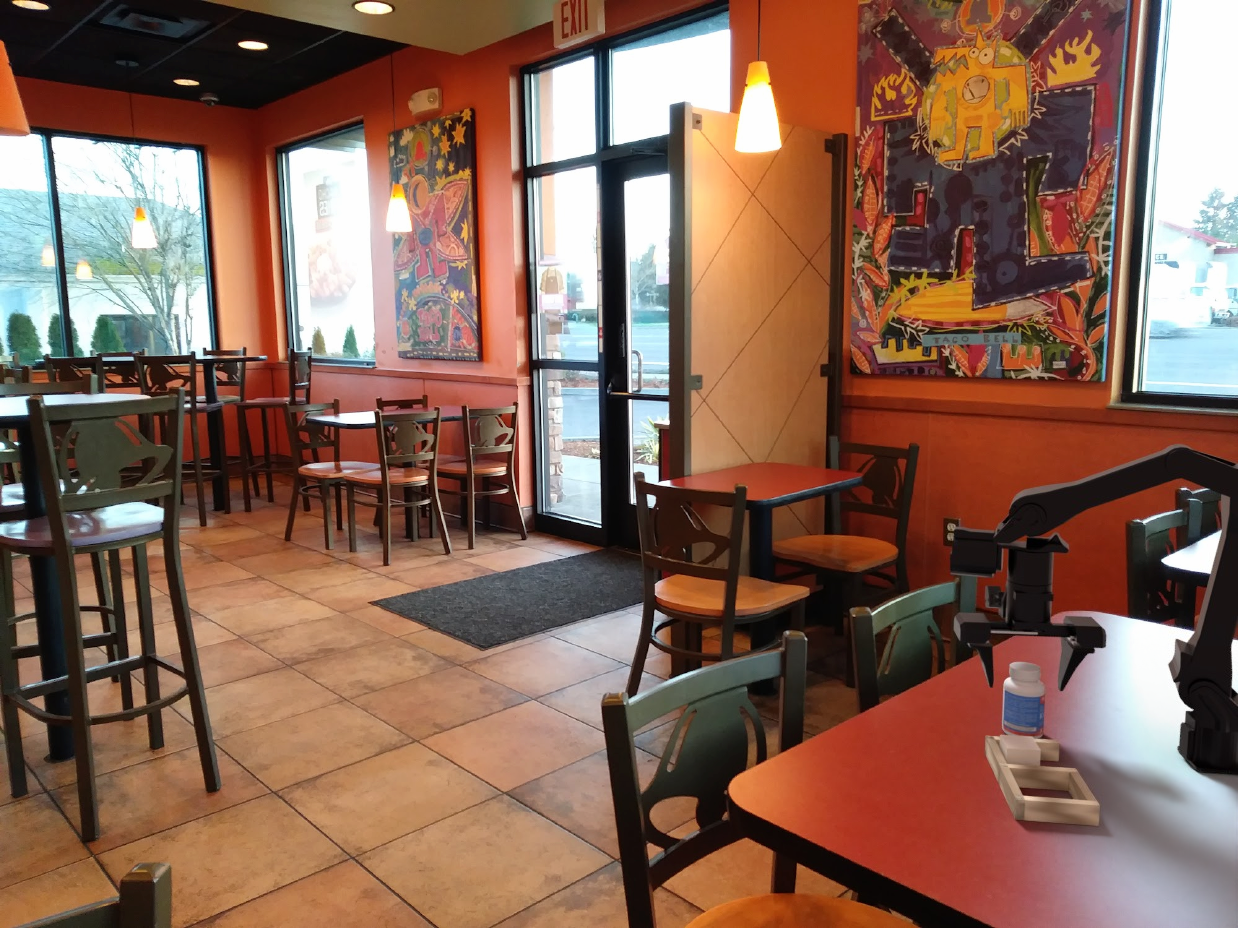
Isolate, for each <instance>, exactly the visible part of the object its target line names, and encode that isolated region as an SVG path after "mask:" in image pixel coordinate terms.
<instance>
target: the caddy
mask: <svg viewBox="0 0 1238 928" xmlns="http://www.w3.org/2000/svg"><path fill="white" fill-rule="evenodd" d="M984 739H985V740H984V741H985V744H984V755H985V756H986V759H987V762H988V763H989V766H990V767H991V770H992V772H993V773H994V777H995V779H996V781H997V783H998V785H999V787H1000V789H1001V792H1002V794H1003V796H1004V798H1005V800H1006V803H1007V805H1008V807H1009V809H1010V811H1011V814H1012V815H1013V818H1014V820H1017V821H1028V822H1029V821H1030V822H1041V823H1054V824H1068V825H1069V824H1070V825H1082V826H1094V827H1095V826H1096V827H1100V811H1101V810H1100V809H1101V805H1100V804H1099V802H1098V800H1097V799H1096V797H1095V796H1094V794H1093V793H1092V791H1091V790H1090V788H1089V787H1088V785H1087V783H1086V782H1085V780H1084V779H1083V777H1082V776H1081V775H1080V772H1079V771H1078V770H1077V768H1074V767H1061V766H1060V767H1058V766H1044V765H1040V766H1031V765H1015V764H1007V763H1006V761H1005V759H1004V757H1003V755H1002V753H1001V751H1000V749H999V748H1000V736H996V735H995V736H993V735H985V738H984ZM1034 740H1035V742H1036V743H1037V745H1038V747H1039V748H1040V750H1041V755H1040V761H1048V762H1059V761H1060V760H1059V759H1060V742H1059V740H1058V739H1045V738H1038V739H1034ZM1020 788H1022V789H1023V788H1024V789H1025V788H1026V789H1035V790H1036V789H1037V790H1038V789H1039V790H1053V791H1067V792H1069V794H1070V795H1071V797H1072V798H1057V797H1046V796H1045V797H1044V796H1029V795H1023V793H1022V791H1021V789H1020Z"/></svg>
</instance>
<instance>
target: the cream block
mask: <svg viewBox="0 0 1238 928" xmlns="http://www.w3.org/2000/svg"><path fill="white" fill-rule="evenodd" d="M999 737H1000V748H999V749H1000V751H1001V753H1002V755H1003V757H1004V759H1005V761H1006V763H1007V764H1015V765H1031V766H1041V760H1040V755H1041V750H1040V748H1039V747H1038V745H1037V743H1036V742H1035V740H1034V738H1033V737H1032V736H1015V735H1008V734H999Z"/></svg>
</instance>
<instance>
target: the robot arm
mask: <svg viewBox="0 0 1238 928" xmlns="http://www.w3.org/2000/svg"><path fill="white" fill-rule="evenodd" d="M1179 479H1182V480H1184V481H1188V482H1190V483H1193V484H1195V485H1197V486H1200V487H1202V488H1204V489H1207V490H1209V491H1212V492H1214V493H1217V494H1219V495H1221V497H1220V512H1221V514H1220V515H1221V533H1220V537H1219V541H1218V544H1217V547H1216V551H1215V555H1214V559H1213V563H1212V567H1211V570H1210V575H1209V579H1208V582H1207V585H1206V586H1207V587H1206V589H1205V592H1204V597H1203V601H1202V605H1201V609H1200V612H1199V616H1198V620H1197V624H1196V628H1195V630H1194V632H1193V634H1192V635H1191V637H1190V638H1189V639H1188V641H1187V642H1186V641H1184V640H1182V639H1180V638H1179V639H1178V638H1175V641H1174V653H1173V657H1172V659H1171V660H1170V661H1169V662H1168V664H1167V666H1168V669H1169V671H1170V672H1169V673H1170V675H1171V679H1172V681H1173V683H1174V684H1175V687H1176V690H1177V693H1178V694H1177V695H1178V697H1179V698H1180V700H1181V702H1182V703H1183V704H1184V705H1185V706H1186V707H1188V708H1190V709H1191V710H1185V714H1184V715H1185V716H1184V717H1185V718H1184V722H1181V723H1180V727H1179V728H1180V729H1179V743H1178V746H1176V747H1177V748H1176V749H1177V751H1178V752H1179V754H1181V756H1182V757H1183V758H1184V759H1185V760H1186V761H1187V762H1188V763H1189V764H1190V766H1191V767H1192V768H1193V769H1194V770H1196V771H1198V772H1204V773H1205V772H1206V773H1219V774H1235V775H1238V691H1236V690H1235V689H1234V688H1233V657H1232V655H1233V654H1232V646H1233V641H1234V637H1235V634H1236V631H1237V627H1238V463H1237V462H1233V461H1231V460H1228V459H1224V458H1222V457H1219V456H1215V455H1212V454H1209V453H1205V452H1202V451H1198V450H1196V449H1193V448H1191V447H1190V446H1188V445H1187V444H1186V445H1185V444H1182V443H1176V444H1171V445H1169V446H1167V447H1166V448H1164V449H1162V450H1160V451H1156V452H1154V453H1152V454H1148V455H1146V456H1143V457H1140V458H1137V459H1134V460H1131V461H1129V462H1126V463H1123V464H1119V465H1117V466H1115V467H1112V468H1109V469H1106V470H1103V471H1100V472H1098V473H1094V474H1092V475H1089V476H1087V477H1084V478H1083V477H1082V478H1081V479H1078V480H1074V481H1068V482H1063V483H1053V484H1052V483H1051V484H1047V485H1040V486H1036V487H1035V486H1034V487H1031V488H1026V489H1023V490H1021V491H1019V492H1017V493H1016V495H1014V497H1013V498H1012V500H1011V503H1010V506H1009V509H1008V510H1009V511H1008V514H1007V516H1005V518H1004V519H1003V520H1002V521H1001V522H999V523H998V525H997V527H996V529H995V530H992V529H991V530H990V529H977V528H968V527H967V526H966V527H965V526H955V527H954V529H953V537H952V546H951V547H952V548H951V551H950V553H949V571H950V575H957V576H965V577H966V576H968V577H969V576H970V577H980V578H988V579H989V578H990V579H992V578H993V579H994V575H997V572H1003V567H1004V566H1003V563H1004V550H1007V569H1006V570H1007V572H1006V575H1007V576H1006V582H1005V585H1004V586H1005V589H1004V591H1002V587H1001V586H1000V585H985V586H984V587H985V590H984V605H985V608H987V609H998V615H999V616H1000V617H1001V618H1002V619H1005V620H1004V621H1002V620H1000V621H999V620H989V619H988V618H987V617H986V614H984V612H958V613H957V614H956V615H954V619H953V631H954V633H955V635H956V636H957V639H958V640H959V642H960V643H963V644H967V645H968V647H969V648H970V649H972V650H976V651H977V654H978V656H979V659H980V662H981V666H982V669H983V672H984V675H985V678H986V681H987V684H988V687H989V688H990V689H993V688H994V682H995V673H994V671H995V670H994V651H993V650H994V647H993V645H992V643H991V642H990V640H991V639H992V636H1013V637H1014V636H1015V637H1016V636H1017V637H1039V638H1040V637H1042V638H1045V637H1046V638H1047V637H1048V638H1060V645H1061V649H1060V650H1061V651H1060V659H1059V667H1058V675H1057V689H1058V690H1059V691H1060V692H1063V691H1064V690H1065V688H1066V687H1067V685H1068V684H1069V682H1070V680H1071V678H1072V676H1073V675H1074V673H1075V672H1076V670H1077V668H1078V667H1079V666H1080V664H1081V663H1082V662H1083V661H1084V660H1085V658H1086V657H1087V656H1088V655H1093V654H1095V653H1096V649H1105V648H1107V633H1106V629H1105V628H1104V627H1103V626H1102V625H1101V624H1099V623H1098V622H1097V621H1096V620H1095V619H1094V618H1093V617H1092V616H1082V615H1081V616H1080V615H1079V616H1077V615H1065V616H1064V618H1063V622H1062V623H1059V622H1057V623H1056V622H1052V621H1051V619H1052V602H1054V595H1055V594H1054V593H1053V579H1054V578H1053V577H1054V576H1053V575H1054V554H1068V553H1069V551H1070V545H1069V543H1068V542H1066V541H1065V540H1064V539H1063V538H1062V537H1061V536H1060V534H1059V532H1057V531H1055V532H1053V534H1051V535H1050V536H1048V537H1044V536H1043V535H1046V534H1047V533H1049V532H1052V530H1054V529H1057V528H1059V527H1060V526H1062V525H1064V524H1066V523H1067V522H1069V521H1071V519H1073V518H1075V517H1077V516H1078V515H1079V514H1081V513H1083V512H1085V511H1087V510H1091V509H1092V508H1095V507H1099V506H1102V505H1105V504H1107V503H1110V502H1111V503H1112V502H1113V501H1117V500H1119V499H1122V498H1125V497H1128V496H1131V495H1134V494H1137V493H1140V492H1143V491H1147V490H1149V489H1152V488H1154V487H1157V486H1161V485H1163V484H1166V483H1169V482H1173V481H1175V480H1179ZM1025 536H1026V540H1020V539H1021V538H1024V537H1025Z"/></svg>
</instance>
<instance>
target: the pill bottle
mask: <svg viewBox="0 0 1238 928" xmlns="http://www.w3.org/2000/svg"><path fill="white" fill-rule="evenodd" d="M1041 671H1042V669H1041V667H1040V665H1037V664H1035V663H1032V662H1026V661H1014V662H1011V663H1010V664H1009V670H1008V672H1009V673H1008V674H1009V677H1007V678H1006V679H1005V680H1004V682H1003V686H1002V687H1003V692H1002V713H1001V714H1002V715H1001V716H1002V717H1001V719H1002V720H1001V729H1002V731H1003V733H1005V735H1015V736H1032V737H1033V738H1034V739H1041V738H1042V737H1043V735H1044V730H1045V729H1044V727H1045V725H1044V724H1045V709H1046V707H1045V706H1046V703H1045V702H1046V687H1045V684H1044V683H1043V682H1042V681H1041V680H1040V679H1041V677H1042V675H1041Z"/></svg>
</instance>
